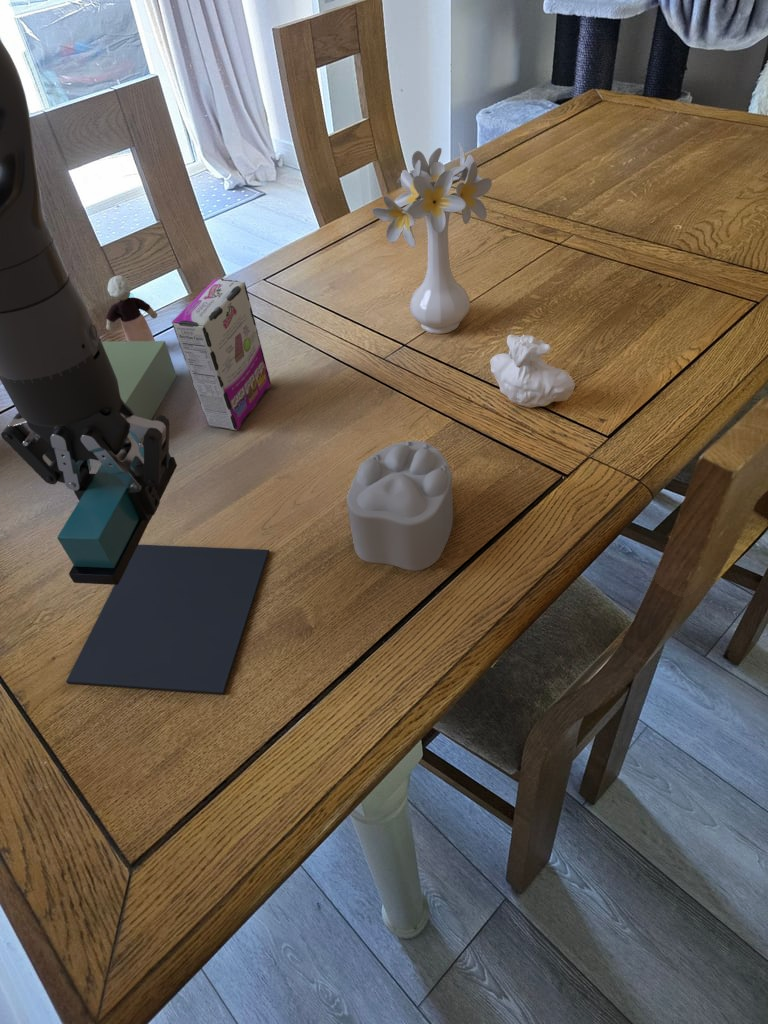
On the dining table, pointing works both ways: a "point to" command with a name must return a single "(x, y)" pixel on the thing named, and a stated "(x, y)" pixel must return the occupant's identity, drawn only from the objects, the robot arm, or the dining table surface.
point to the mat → (173, 620)
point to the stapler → (105, 528)
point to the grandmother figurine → (128, 311)
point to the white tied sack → (530, 374)
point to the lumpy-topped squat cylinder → (402, 506)
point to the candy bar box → (223, 353)
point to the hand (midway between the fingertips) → (125, 512)
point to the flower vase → (436, 232)
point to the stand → (141, 373)
